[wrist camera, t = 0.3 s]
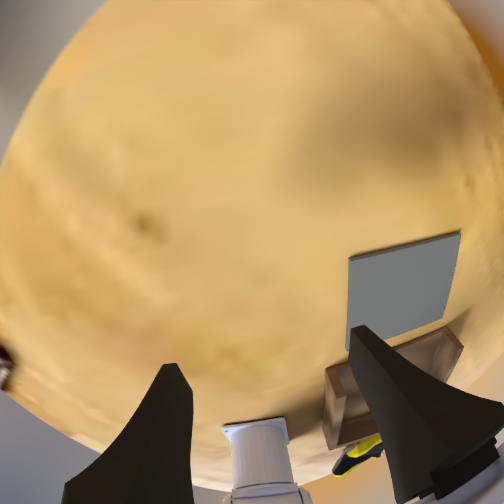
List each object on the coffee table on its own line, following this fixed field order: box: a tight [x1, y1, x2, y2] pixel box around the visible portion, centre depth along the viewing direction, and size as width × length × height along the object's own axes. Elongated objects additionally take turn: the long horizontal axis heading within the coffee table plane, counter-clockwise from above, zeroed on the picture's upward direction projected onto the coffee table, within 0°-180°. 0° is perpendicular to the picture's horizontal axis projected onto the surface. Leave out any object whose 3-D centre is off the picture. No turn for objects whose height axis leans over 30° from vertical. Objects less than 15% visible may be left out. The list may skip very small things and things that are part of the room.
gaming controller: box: [332, 434, 384, 477], centre depth 34 cm, size 15×6×10 cm
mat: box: [345, 232, 461, 351], centre depth 22 cm, size 10×12×1 cm
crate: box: [323, 326, 464, 450], centre depth 27 cm, size 15×16×4 cm
